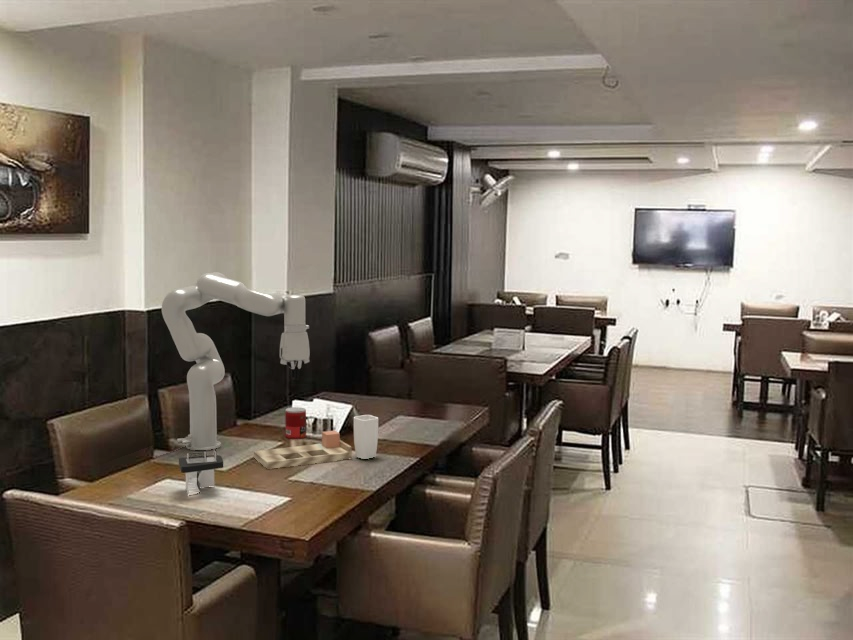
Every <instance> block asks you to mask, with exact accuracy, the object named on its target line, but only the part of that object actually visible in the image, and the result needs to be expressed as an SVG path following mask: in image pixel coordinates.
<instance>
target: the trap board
mask: <svg viewBox="0 0 853 640" xmlns="http://www.w3.org/2000/svg"><path fill="white" fill-rule="evenodd" d="M352 449H353V446H351V445H350V444H348V443H346V442H344V441H343V440H341V439H340V447H336V448H325V447H324V446H322V443H315V444H305V445H297V446H289V447H281V448H271V449H263V450H254V451H253V452H252V454H253V457H254V458H255V459H256V460H257V461H258V462H257V461H256V460H255V459H254V458H253V457H252V458H253V459H254V460H255V461H256V462H257V463H259V462H260V463H261V464H262V465H263V466H262V465H261V464H260V463H259V464H260V465H261V466H262V467H263V468H265V467H266V468H267V469H270V470H273V469H272V468H278V469H281V468H280V467H286V468H291V467H290V466H294V467H299V466H298V465H301V466H307V465H308V464H309V465H316V464H315V463H317V464H323V462H325V463H331V462H330V461H333V462H338V461H337V460H341V461H343V460H342V459H349V458H352V457H353V452H352V451H353V450H352ZM349 460H350V459H349ZM309 465H308V466H309ZM266 468H265V469H266ZM267 469H266V470H267Z"/></svg>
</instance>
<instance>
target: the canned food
mask: <svg viewBox="0 0 853 640" xmlns="http://www.w3.org/2000/svg"><path fill="white" fill-rule="evenodd" d="M284 416H285V419H284V421H285V437H286V438H287V439H290V440H301V439H304V438H306V436H307V409H306V408H304V407H300V406H299V407H298V406H297V407H294V406H293V407H292V406H291V407H288V408H286V409H285V415H284Z"/></svg>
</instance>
